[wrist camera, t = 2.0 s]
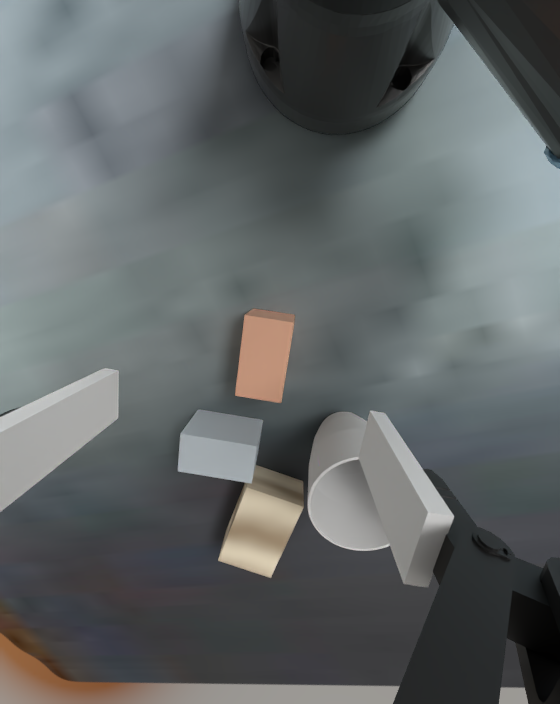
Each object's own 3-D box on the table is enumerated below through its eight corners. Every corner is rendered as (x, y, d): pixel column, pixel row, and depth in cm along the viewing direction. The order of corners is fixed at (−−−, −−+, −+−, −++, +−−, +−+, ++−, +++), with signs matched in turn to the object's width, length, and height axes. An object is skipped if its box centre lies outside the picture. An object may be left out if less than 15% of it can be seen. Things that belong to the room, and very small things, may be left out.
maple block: (252, 462, 32) (246, 487, 28) (302, 479, 32) (303, 506, 29) (226, 528, 35) (217, 560, 31) (273, 544, 35) (270, 577, 31)
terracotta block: (253, 308, 28) (244, 314, 23) (294, 314, 28) (294, 322, 23) (245, 376, 29) (235, 395, 25) (283, 382, 29) (281, 403, 25)
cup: (313, 472, 32) (320, 557, 22) (296, 405, 30) (296, 467, 20) (387, 459, 31) (428, 542, 21) (375, 390, 29) (414, 447, 19)
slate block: (195, 441, 32) (177, 471, 27) (198, 408, 31) (180, 433, 26) (258, 451, 32) (251, 483, 27) (263, 419, 31) (257, 446, 26)
